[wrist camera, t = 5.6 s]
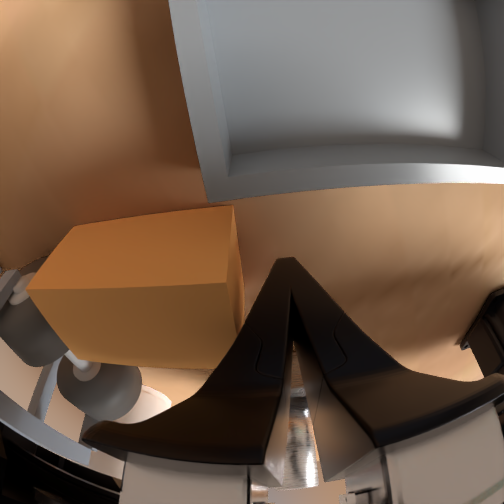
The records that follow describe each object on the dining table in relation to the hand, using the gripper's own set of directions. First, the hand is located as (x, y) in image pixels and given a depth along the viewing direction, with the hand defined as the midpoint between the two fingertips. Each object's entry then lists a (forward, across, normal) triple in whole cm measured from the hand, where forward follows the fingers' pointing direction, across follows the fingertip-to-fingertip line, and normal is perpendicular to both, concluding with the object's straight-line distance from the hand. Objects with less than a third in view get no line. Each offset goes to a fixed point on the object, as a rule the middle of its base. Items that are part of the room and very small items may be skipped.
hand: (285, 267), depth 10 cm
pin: (+1, 0, +10) cm, 11 cm away
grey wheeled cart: (+1, +13, +3) cm, 14 cm away
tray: (+1, -4, -8) cm, 8 cm away
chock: (+1, +5, 0) cm, 5 cm away
